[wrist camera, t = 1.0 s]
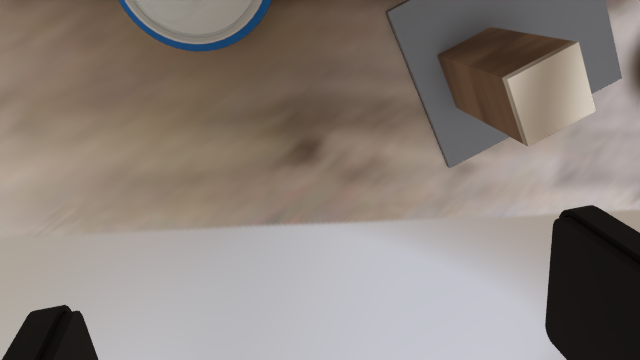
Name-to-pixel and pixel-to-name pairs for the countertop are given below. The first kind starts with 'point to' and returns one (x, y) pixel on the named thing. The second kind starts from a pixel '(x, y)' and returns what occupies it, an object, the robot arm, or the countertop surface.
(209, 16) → the beverage can
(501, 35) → the block
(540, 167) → the countertop surface
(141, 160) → the countertop surface
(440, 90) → the mat
